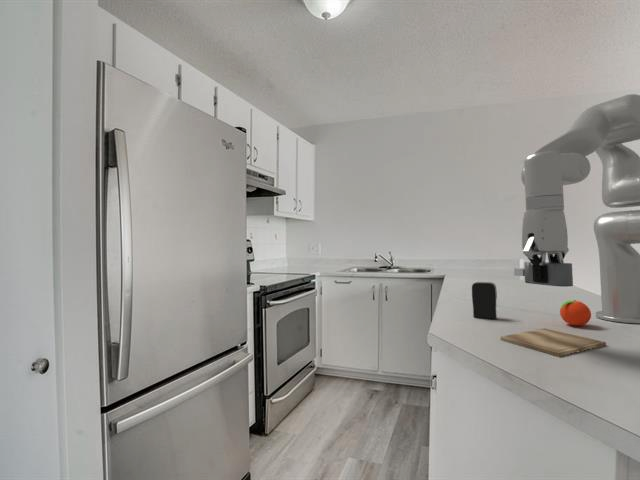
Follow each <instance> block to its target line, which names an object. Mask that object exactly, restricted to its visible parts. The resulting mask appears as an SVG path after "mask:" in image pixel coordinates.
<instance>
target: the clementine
mask: <svg viewBox="0 0 640 480" xmlns="http://www.w3.org/2000/svg"><path fill="white" fill-rule="evenodd" d="M559 309H560V310H559V315H560V317H561V319H562V320H563V321H564V323H566V324H568V325H571V326H573V327H580V326H581V327H582V326H585V325H586V324H588V323H589V322H590V320H591V318H592V311H591V309H590V307H588V305H586V304H585V303H584V302H581V301H577V300H576V299H574V300H569V301H568V300H567V301H565V302H564V303H562V305H561V306H560V308H559Z"/></svg>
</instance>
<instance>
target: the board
mask: <svg viewBox="0 0 640 480" xmlns="http://www.w3.org/2000/svg"><path fill="white" fill-rule="evenodd" d="M503 340H504V341H503ZM500 341H503V342H506V341H507V342H506V343H510V342H511V343H510V344H513V343H514V345H517V344H518V345H517V346H520V345H521V347H523V346H524V348H527V347H528V348H527V349H530V348H532V349H531V350H534V349H535V350H534V351H537V350H539V351H538V352H540V351H542V353H544V352H545V353H544V354H547V353H548V355H551V354H552V355H551V356H554V355H555V357H558V356H561V357H564V356H563V355H565V356H568V355H567V354H569V355H571V354H570V353H573V354H575V353H574V352H577V351H581V352H583V351H582V350H586V351H588V350H587V349H590V350H593V349H592V348H594V349H598V348H601V347H607V342H606V341H602V340H600V339H599V340H598V339H594V338H589V337H587V336H586V337H585V336H581V335H577V334H576V335H575V334H572V333H566V332H563V331H558V330H555V329H549V328H546V327H545V328H544V327H543V328H539V329H534V330H533V329H532V330H529V331H523V332H518V333H513V334H507V335H501V336H500ZM577 353H578V352H577Z"/></svg>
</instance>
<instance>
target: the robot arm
mask: <svg viewBox="0 0 640 480" xmlns="http://www.w3.org/2000/svg"><path fill="white" fill-rule="evenodd" d="M633 141H640V94H627V95H626V94H625V95H623V96H619V97H617V98H613V99H611V100H607V101H604V102H601V103H597V104H595V105H592V106H590V107H589V108H586V109H585V110H583V111H582V112H581V113H580V115H579V116H578V117H577V118H576V120H575V121H574V122H573V124H572V125H571V126H570V127H569V128H568V130H567V131H566V132H565V133H563V134H561V135H560V136H557V138H554V139H553V140H552V141H550V142H548V143H546V144H545V145H543V146H542V147H540V148H539V149H537V150H536V151H535V152H534V153H533V154H529V155H527V157H525V159H524V160H523V167H522V170H521V174H520V176H521V177H520V178H521V182H522V184H523V185H524V192H525V193H524V196H525V198H524V199H525V212H524V213H523V217H522V229H521V230H522V231H521V246H522V247H521V248H522V251H523V252H522V253H523V255H524V256H525V257H526V258H527V259H528V260H529V262H530V264H531V265H532V268H533V281H534V282H538V283H547V282H548V273H547V266H544V265H545V262H546V258H547V259H548V262H552V263H565V262H564V258H565V257H566V255H567V254H568V253H569V251H570V250H569V249H570V248H569V247H568V244H569V242H568V241H569V239H568V227H567V221H566V216H565V211H564V210H565V202H564V201H565V200H564V186H568V185H573V184H578V183H581V182H583V181H584V180H586V179H587V178H588V176H589V175H590V172H591V162H590V161H589V159H588V158H587V156H589V155H591V154H593V153H594V152H595V153H596V155H597V156H598V158H599V159H600V161H601V164H602V174H601V175H602V179H601V200H602V203H603V205H604V206H606V207H608V208H614V209H621V208H623V209H624V208H634V207H640V156H639V154H638V153H636V152H635V151H634V150H633V149H631V148H629V147H628V146H626V145H624V144H625V143H628V142H633ZM593 232H594V236H595V240H596V243H597V247H598V256H599V257H598V258H599V278H600V296H601V310H600V311H599V310H598V311H596V312H595V317H597V318H598V319H601V320H605V321H610V322H617V323H625V324H626V323H627V324H640V253H639V251H638V250H636V249H635V248H634V247H633V246H632V245H635V244H637V245H638V244H640V209H636V210H635V209H634V210H633V209H631V210H620V211H610V212H606V213H603V214H601V215H599V216H598V217H596V218H595V220H594V222H593Z"/></svg>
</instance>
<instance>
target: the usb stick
mask: <svg viewBox="0 0 640 480" xmlns="http://www.w3.org/2000/svg"><path fill="white" fill-rule="evenodd" d="M523 266H524V267H518V268H517V267H516V268H515V267H514V268H513V271H514V273H513V274H514V276H519V277H524V282H525V284H530V285H531V284H532V285H541V286H550V287H551V286H552V287H566V288H567V287H573V286H574V277H573V263H570V262H564V263H552V262H549V261H548V262H546V261H545V265H544V266H547V273H548V282H547V283H538V282H534V281H533V268H532V265H531V264H530V261H525V262H524V265H523Z"/></svg>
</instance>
